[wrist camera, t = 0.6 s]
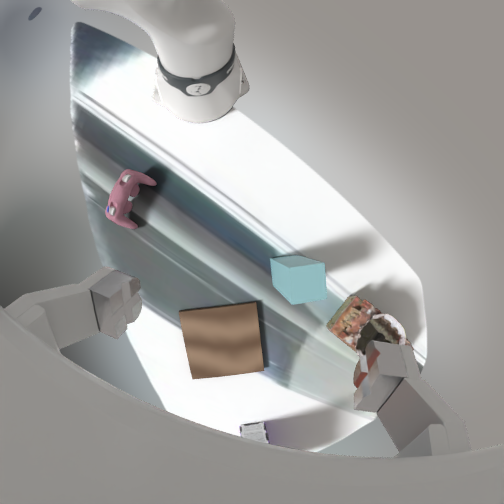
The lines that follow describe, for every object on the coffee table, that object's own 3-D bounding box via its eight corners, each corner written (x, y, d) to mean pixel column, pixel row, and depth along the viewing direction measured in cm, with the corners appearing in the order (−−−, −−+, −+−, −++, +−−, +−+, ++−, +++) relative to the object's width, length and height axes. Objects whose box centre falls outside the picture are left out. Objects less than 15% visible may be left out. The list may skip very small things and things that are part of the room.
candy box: (269, 458, 53) (281, 506, 37) (245, 461, 52) (253, 510, 36) (264, 421, 52) (278, 472, 36) (238, 424, 51) (245, 477, 35)
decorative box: (363, 271, 52) (390, 279, 42) (407, 331, 54) (432, 345, 45) (317, 319, 51) (337, 336, 42) (368, 373, 54) (389, 393, 44)
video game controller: (144, 176, 48) (119, 162, 41) (160, 181, 46) (135, 167, 40) (123, 224, 48) (96, 216, 41) (138, 232, 46) (110, 224, 40)
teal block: (270, 258, 50) (288, 267, 36) (297, 254, 50) (324, 262, 36) (273, 285, 50) (292, 304, 36) (299, 281, 50) (327, 298, 37)
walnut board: (179, 310, 48) (178, 312, 47) (255, 301, 50) (256, 302, 49) (193, 376, 49) (192, 379, 48) (263, 368, 51) (264, 370, 50)
